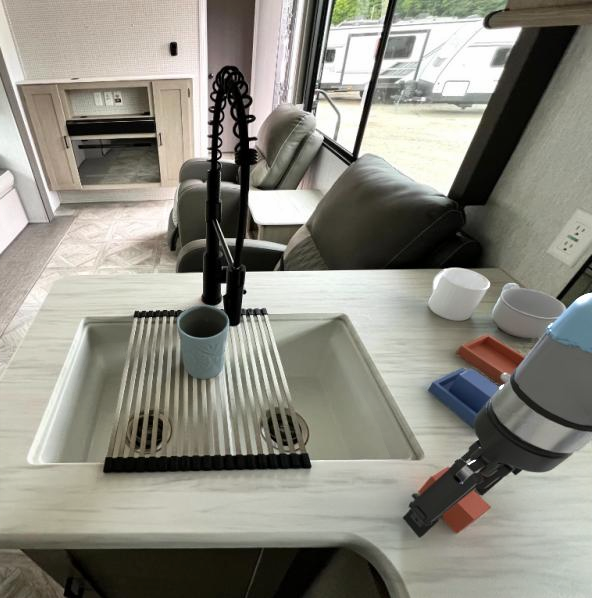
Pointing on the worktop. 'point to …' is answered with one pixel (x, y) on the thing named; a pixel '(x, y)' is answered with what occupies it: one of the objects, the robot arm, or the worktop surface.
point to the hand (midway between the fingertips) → (444, 505)
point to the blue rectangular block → (473, 389)
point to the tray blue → (452, 396)
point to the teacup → (525, 311)
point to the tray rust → (491, 356)
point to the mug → (457, 293)
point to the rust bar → (460, 507)
